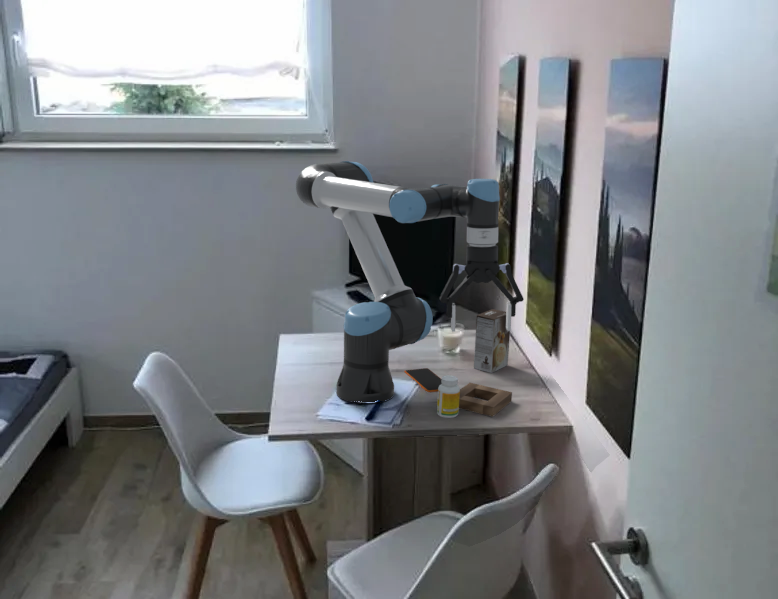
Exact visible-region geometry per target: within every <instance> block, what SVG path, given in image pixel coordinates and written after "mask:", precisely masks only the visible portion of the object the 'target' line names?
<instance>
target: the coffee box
mask: <svg viewBox="0 0 778 599" xmlns="http://www.w3.org/2000/svg"><path fill="white" fill-rule="evenodd" d="M475 321H476V322H475V336H474V337H475V341H474V357H473V369H476V370H478V371H483V372H486V373H489V374H493V373H495V372H497V371H499V370H500V369H502V368H505V367H507V366H508V365H509V350H510V349H509V348H510V336H511V331H508V330H507V329H506V310H505V311H504V310H499V309H493V308H491V309H490V310H486V311H484V312H481V313H479V314H477V315H476V319H475Z"/></svg>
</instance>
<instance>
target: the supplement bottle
mask: <svg viewBox="0 0 778 599" xmlns="http://www.w3.org/2000/svg"><path fill="white" fill-rule="evenodd" d="M441 379H442V380H441V382H442V384H441V385H439V387H438V391H437V401H436V414H437V415H438V416H439V417H441V418H445V419H453V418H455V417H456V418H457V416H458V415H459V409H460V408H459V396H460V389H461V388H460V386H459V385H458V383H459V378H458V377H457V376H456V375H451V374H450V375H449V374H447V375H443V376H442V377H441Z"/></svg>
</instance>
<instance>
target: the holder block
mask: <svg viewBox="0 0 778 599" xmlns="http://www.w3.org/2000/svg"><path fill="white" fill-rule="evenodd" d="M512 399H513V392H512V391H509V390H503V389H499V388H495V387H491V386H486V385H482V384H477V383H473V382H469V383H467V384H466V385H464V386H463V387H461V388H460V396H459V409H460V410H465V411H469V412H472V413H477V414H481V415H483V416H489V417H494V416H496V415H497V414H498V413H499V412H500V411H502V410H503V409H504V408H505V407H506V406H508V404H510V403H512Z"/></svg>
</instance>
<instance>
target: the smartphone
mask: <svg viewBox="0 0 778 599" xmlns="http://www.w3.org/2000/svg"><path fill="white" fill-rule="evenodd" d="M404 373H405V374H406V375H407V376H409V377H410V378H411V379H412V381H414V380H415V381H416V382H417V383H418V384H419V385H418V384H417V383H416V382H415V381H414V382H415V383H416V384H417V385H418V386H419V387H420V386H421V388H422V389H423V390H424V391H425V392H426V393H438V387H439V385H441V384H442V382H441V380H442V377H440V376H438V375H437V374H436V373H435V372H433V371H432V370H431V369H430V368H428V367H424V368H423V367H422V368H414V369H406V370H404Z"/></svg>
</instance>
